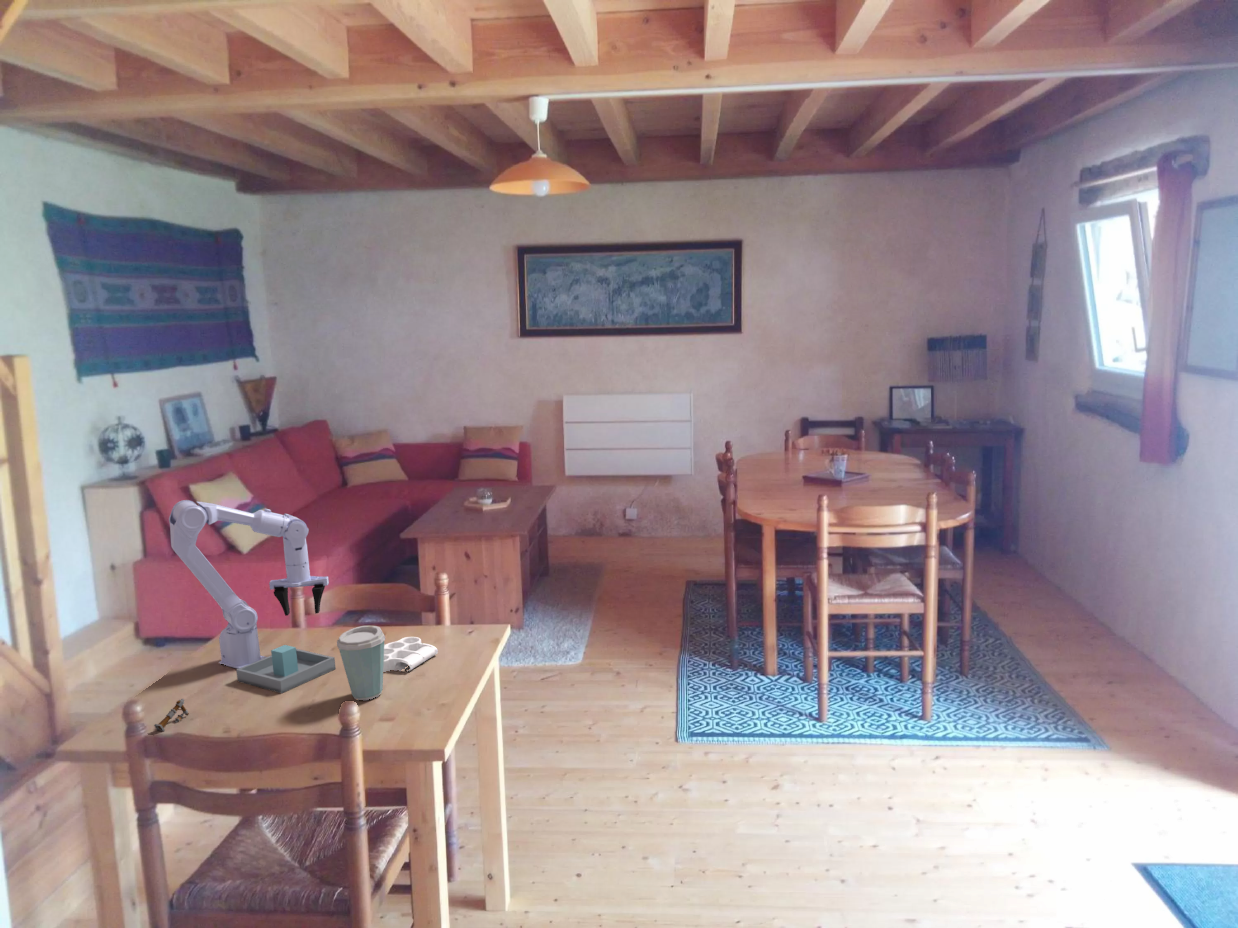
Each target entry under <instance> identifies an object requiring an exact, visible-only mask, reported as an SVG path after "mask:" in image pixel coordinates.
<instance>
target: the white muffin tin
mask: <svg viewBox="0 0 1238 928" xmlns="http://www.w3.org/2000/svg"><path fill="white" fill-rule="evenodd" d="M437 654H439V651H438V648H437V647H436V646H434V645H433V644H429V643H424V642H423V643H422V639H421V638H420V637H417V636H405V637H401V639H399V640H395V641H392V642H391V641H390V642H388V643H386V644H385V643H384V666H383V672H386V671H389V672H391V671H390V670H394V671H397V670H399V671H398V672H401V670H402V669H405V667H407V666H408V665H409V669H410V670H408V669H407V670H408V671H409V672H410V671H412V670H413V669H414V668H416V667H418V666H420V665H421V664H423V663H425V662H426V661H427V660H429V659H430V658H433V657H434V656H436V655H437ZM408 671H407V672H406V673H409V672H408ZM386 673H387V672H386Z"/></svg>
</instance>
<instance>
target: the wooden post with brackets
mask: <svg viewBox="0 0 1238 928" xmlns="http://www.w3.org/2000/svg"><path fill="white" fill-rule="evenodd" d="M184 704H185V699H184V698H181V699H178V700H176V703H175V705H174V707H172V708H171V709H170V710H169V711H168V713H167V714H166V715H165V717H164V718H163V719H161V721H160V722H158V723H155V724H153V726H154V728H155V729H156V731H161V732H165V731H166V730H165V728H166V726H167V724H168V723H169V722H170V720H172V718H173V717H174V716H175V715H176V714H177V712H178V711H181V712H182V713H181V714H177V716H176V717H175V718H174V723H175V724H176V723H179V722H178V721H180V722H181V721H182V720H183V719H184V716H189V715H190V713H189V710H188V709H187V708H186V707H185V706H184Z"/></svg>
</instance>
